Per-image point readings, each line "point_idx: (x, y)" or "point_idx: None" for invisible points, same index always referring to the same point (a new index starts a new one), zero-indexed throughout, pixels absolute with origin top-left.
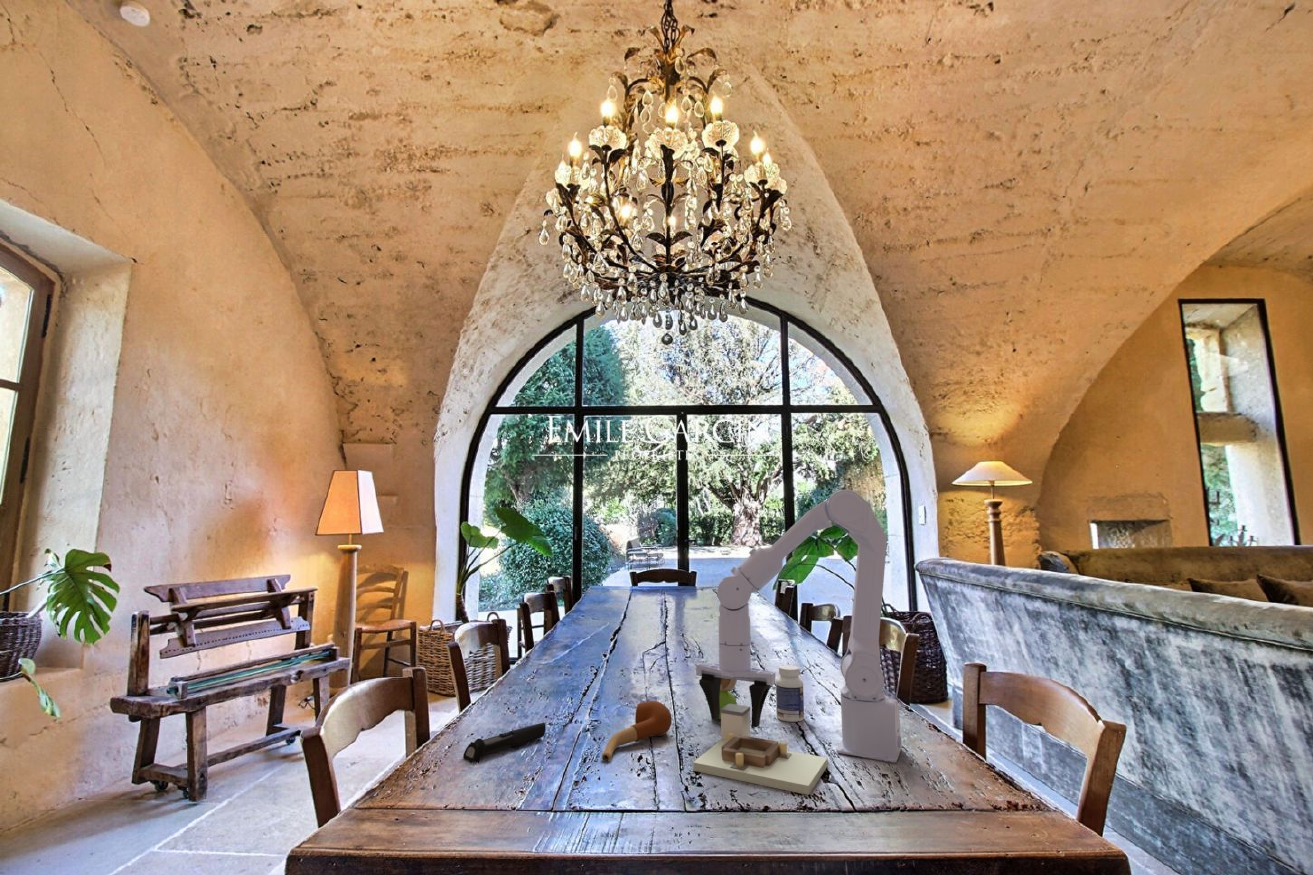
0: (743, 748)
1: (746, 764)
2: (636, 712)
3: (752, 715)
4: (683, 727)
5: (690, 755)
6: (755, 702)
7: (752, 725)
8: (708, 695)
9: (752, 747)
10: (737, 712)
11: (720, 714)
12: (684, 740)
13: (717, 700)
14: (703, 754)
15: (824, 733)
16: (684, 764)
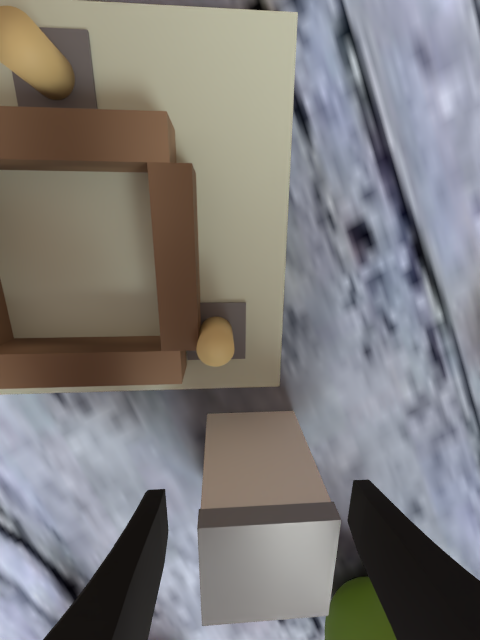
0: (152, 327)
1: None
2: None
3: (142, 535)
4: (463, 468)
5: (358, 221)
6: (76, 631)
7: (160, 493)
8: (476, 601)
9: (108, 338)
10: (229, 523)
11: (368, 588)
12: (427, 360)
13: (396, 605)
14: (287, 159)
15: (17, 628)
16: (350, 101)
